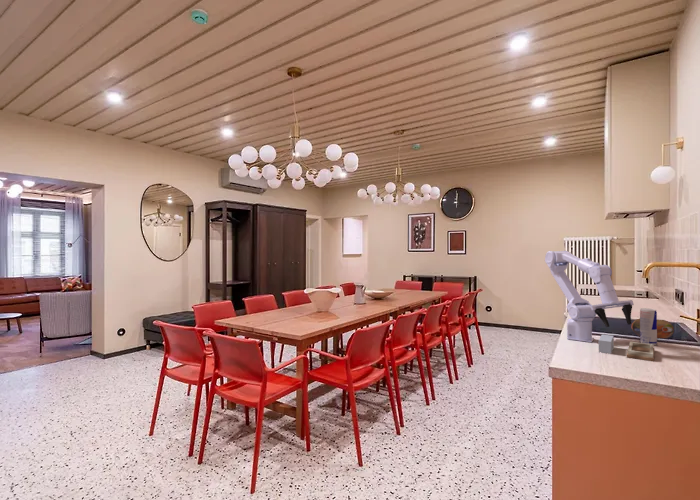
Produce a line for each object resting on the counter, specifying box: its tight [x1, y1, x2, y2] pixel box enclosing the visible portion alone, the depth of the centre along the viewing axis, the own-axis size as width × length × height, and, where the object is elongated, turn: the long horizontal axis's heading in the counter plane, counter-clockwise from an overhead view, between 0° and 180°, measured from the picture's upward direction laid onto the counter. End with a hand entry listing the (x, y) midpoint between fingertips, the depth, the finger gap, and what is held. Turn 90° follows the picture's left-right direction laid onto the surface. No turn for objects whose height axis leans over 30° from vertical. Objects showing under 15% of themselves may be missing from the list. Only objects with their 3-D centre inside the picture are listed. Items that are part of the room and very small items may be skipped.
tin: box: [631, 318, 675, 339], centre depth 167 cm, size 15×3×8 cm, turn 62°
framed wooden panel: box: [626, 341, 655, 362], centre depth 142 cm, size 8×18×2 cm, turn 140°
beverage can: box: [639, 307, 658, 346], centre depth 156 cm, size 6×6×15 cm
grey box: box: [598, 334, 615, 355], centre depth 148 cm, size 4×12×5 cm, turn 140°
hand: (618, 325), depth 146 cm, fingers open, 7 cm apart
